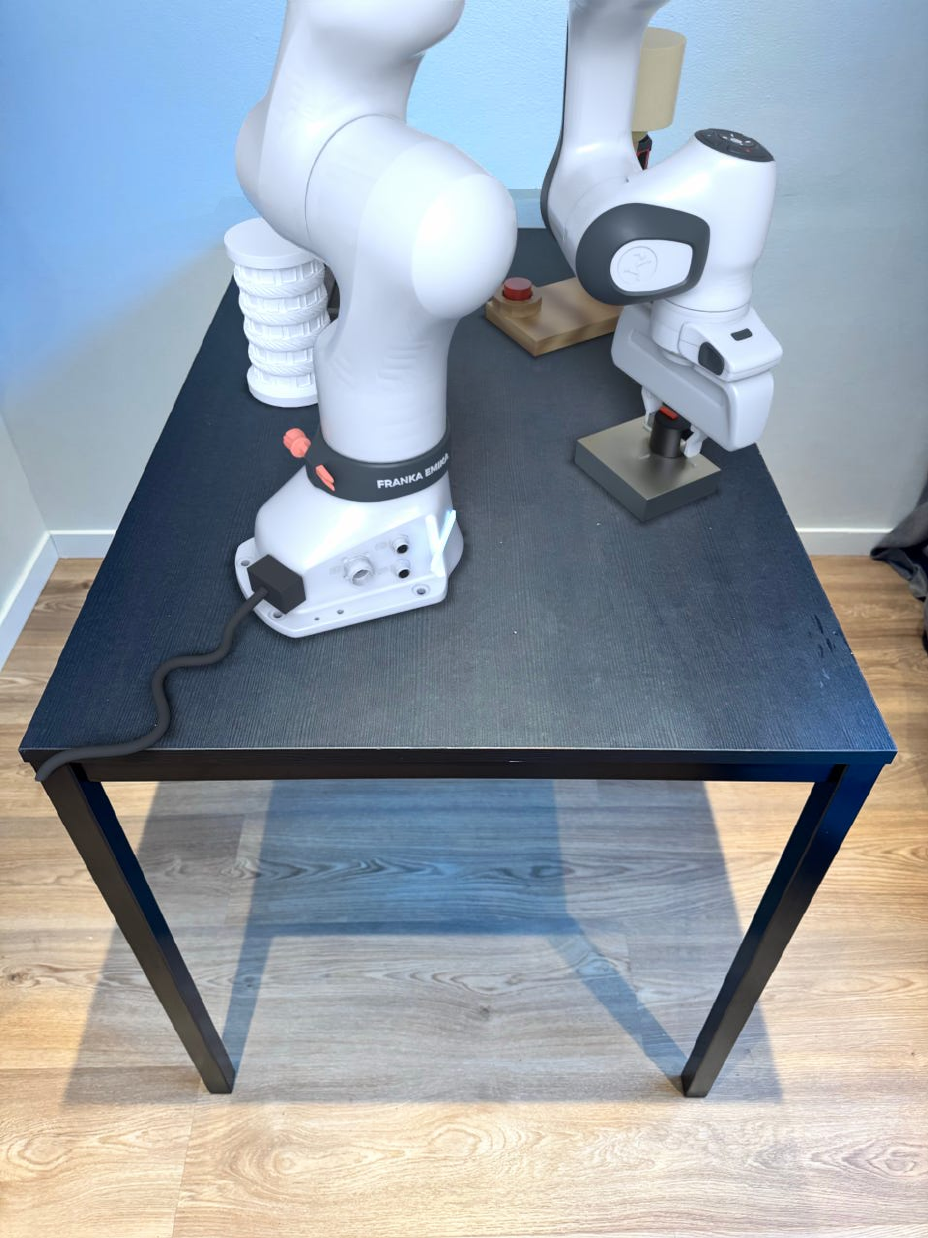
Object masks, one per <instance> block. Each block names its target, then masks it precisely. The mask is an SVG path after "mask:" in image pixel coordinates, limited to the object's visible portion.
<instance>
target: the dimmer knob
mask: <svg viewBox="0 0 928 1238" xmlns="http://www.w3.org/2000/svg"><path fill="white" fill-rule="evenodd" d="M691 424H692V423H690V422H689V421H688V420H686V419H685V418H684V417H682V416H681V415H680V414H678V413H677V412H676V411H675V410H673V409H672V408H671V407H669V406H667V407H666V406H665V405H663V406H662V407H660V409H659V410H658V411H657V412H656V413H655V416H654V421H653V426H652V431H651V436H650V441H649V445H650V448H651V449H652V450H653V451H654V452H655V453H657V454H659V455H661V456H664V457H669V458H677V457H682V456H684V454H683V453H682V452H681V451H679V446H680V440H681V438H682V437H685V436H689V435H690V434H693V433H694V432H692V431H691Z"/></svg>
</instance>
